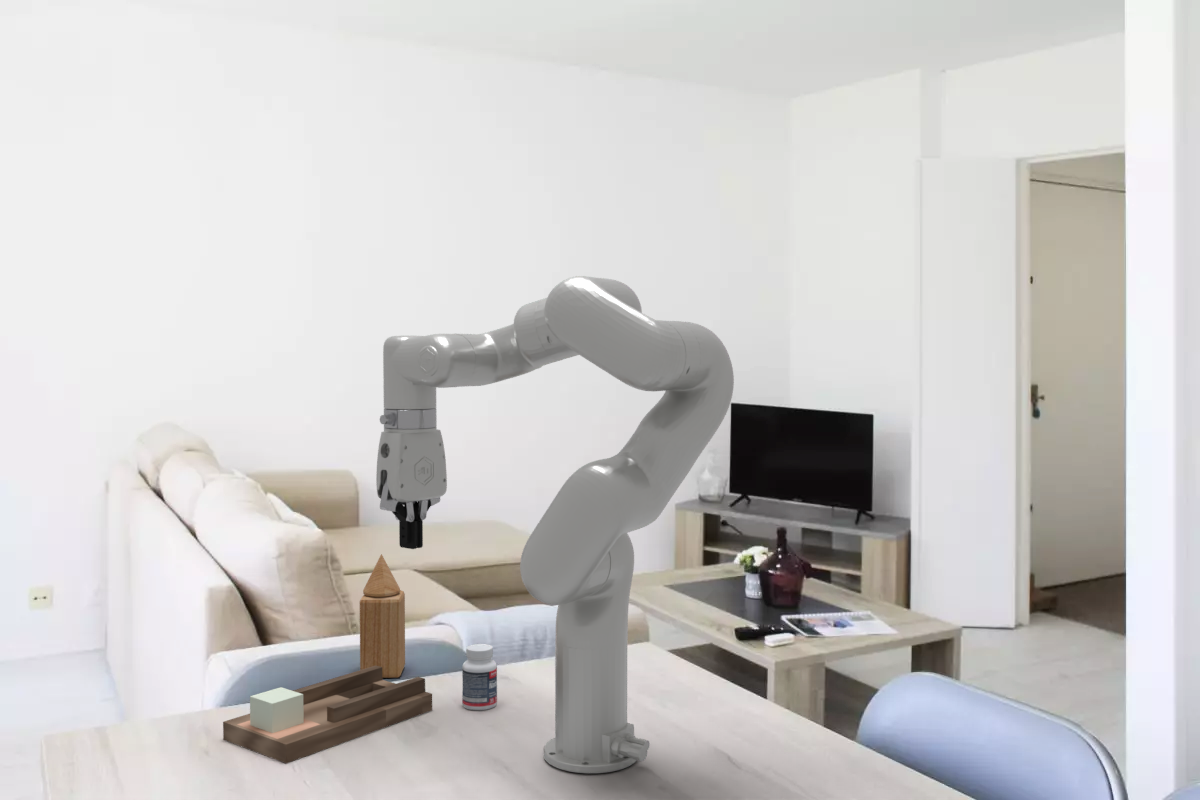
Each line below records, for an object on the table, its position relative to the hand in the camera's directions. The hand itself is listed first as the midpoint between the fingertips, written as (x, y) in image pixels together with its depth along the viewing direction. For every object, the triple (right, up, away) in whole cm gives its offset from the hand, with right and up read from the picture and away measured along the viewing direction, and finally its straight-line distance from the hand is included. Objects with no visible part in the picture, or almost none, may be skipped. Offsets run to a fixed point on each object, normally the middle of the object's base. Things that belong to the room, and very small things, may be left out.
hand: (411, 547), depth 156 cm
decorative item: (-9, -24, +23) cm, 34 cm away
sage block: (-17, -23, -9) cm, 30 cm away
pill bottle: (+9, -25, +7) cm, 27 cm away
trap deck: (-11, -25, -2) cm, 28 cm away
